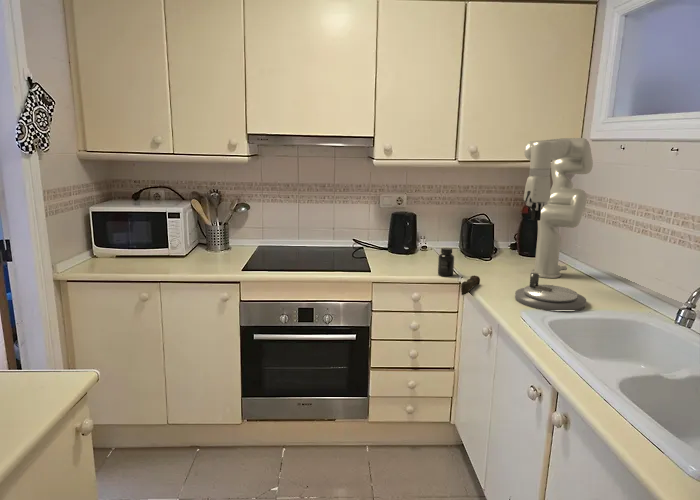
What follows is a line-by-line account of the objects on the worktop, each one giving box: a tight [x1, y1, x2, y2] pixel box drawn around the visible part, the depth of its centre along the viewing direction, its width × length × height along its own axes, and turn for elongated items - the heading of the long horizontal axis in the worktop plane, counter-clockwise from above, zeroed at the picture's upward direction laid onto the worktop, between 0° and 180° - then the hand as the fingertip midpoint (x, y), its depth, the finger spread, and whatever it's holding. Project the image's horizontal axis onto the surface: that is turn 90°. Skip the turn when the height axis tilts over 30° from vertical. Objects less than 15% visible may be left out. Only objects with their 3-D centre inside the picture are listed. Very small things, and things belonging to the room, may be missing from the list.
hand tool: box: [460, 275, 481, 296], centre depth 188 cm, size 19×4×5 cm, turn 148°
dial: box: [523, 272, 579, 303], centre depth 173 cm, size 18×18×6 cm
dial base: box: [514, 287, 587, 311], centre depth 174 cm, size 24×24×2 cm
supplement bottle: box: [437, 247, 455, 278], centre depth 210 cm, size 7×7×12 cm
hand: (535, 220), depth 189 cm, fingers closed
